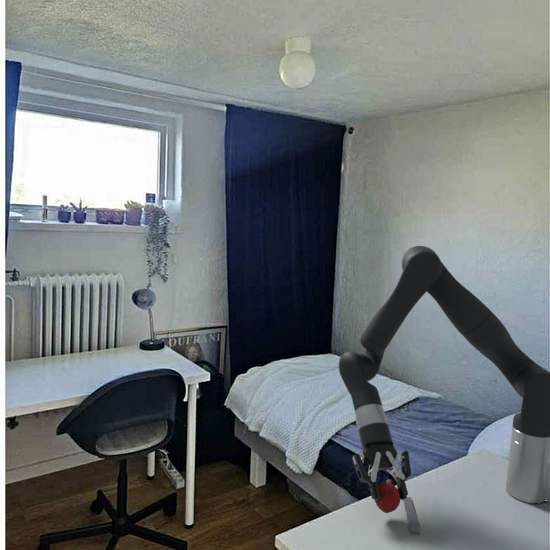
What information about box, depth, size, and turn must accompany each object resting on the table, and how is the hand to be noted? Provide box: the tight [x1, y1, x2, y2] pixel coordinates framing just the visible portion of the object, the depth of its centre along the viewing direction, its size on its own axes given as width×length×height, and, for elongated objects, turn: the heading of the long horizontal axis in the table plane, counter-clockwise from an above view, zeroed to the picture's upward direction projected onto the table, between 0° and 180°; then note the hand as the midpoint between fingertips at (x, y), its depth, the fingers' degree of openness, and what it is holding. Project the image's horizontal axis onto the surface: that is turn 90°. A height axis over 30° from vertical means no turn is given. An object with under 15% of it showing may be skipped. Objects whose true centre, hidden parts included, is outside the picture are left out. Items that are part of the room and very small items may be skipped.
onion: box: [375, 478, 401, 514], centre depth 112 cm, size 6×6×8 cm
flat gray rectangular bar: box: [402, 496, 422, 535], centre depth 114 cm, size 2×14×1 cm, turn 173°
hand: (391, 499), depth 110 cm, fingers closed on onion, 5 cm apart
